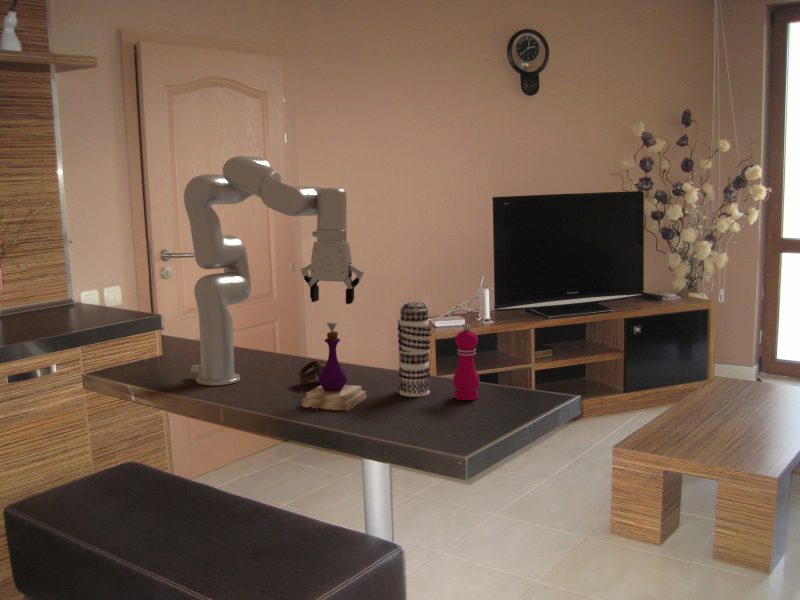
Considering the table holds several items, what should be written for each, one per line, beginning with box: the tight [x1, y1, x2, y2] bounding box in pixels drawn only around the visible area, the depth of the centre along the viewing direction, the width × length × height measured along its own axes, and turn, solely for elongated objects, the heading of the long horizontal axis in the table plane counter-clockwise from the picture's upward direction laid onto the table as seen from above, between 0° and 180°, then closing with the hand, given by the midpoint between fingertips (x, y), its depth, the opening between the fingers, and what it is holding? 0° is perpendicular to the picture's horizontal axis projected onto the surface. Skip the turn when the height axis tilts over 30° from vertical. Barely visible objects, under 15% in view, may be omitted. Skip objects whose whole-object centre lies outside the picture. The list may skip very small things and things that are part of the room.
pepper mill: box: [452, 324, 481, 402], centre depth 208 cm, size 7×7×20 cm
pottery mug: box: [298, 359, 326, 386], centre depth 225 cm, size 12×9×8 cm
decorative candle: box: [397, 301, 432, 398], centre depth 213 cm, size 9×9×25 cm
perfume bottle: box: [317, 322, 348, 391], centre depth 204 cm, size 8×8×18 cm
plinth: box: [301, 384, 367, 412], centre depth 205 cm, size 13×13×4 cm
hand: (332, 302), depth 202 cm, fingers open, 9 cm apart
